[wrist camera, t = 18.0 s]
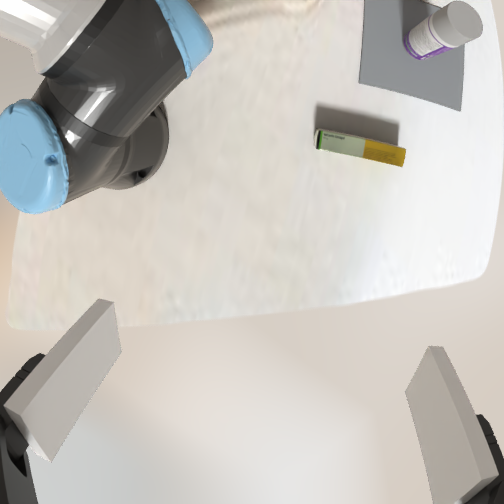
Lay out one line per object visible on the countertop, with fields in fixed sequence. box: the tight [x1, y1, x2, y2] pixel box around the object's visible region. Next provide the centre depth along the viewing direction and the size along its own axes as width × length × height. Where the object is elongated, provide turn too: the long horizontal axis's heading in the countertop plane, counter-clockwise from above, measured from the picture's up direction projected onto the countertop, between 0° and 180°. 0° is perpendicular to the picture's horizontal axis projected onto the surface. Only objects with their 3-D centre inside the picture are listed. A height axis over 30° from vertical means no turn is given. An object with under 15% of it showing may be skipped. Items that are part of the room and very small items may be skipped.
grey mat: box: [359, 0, 464, 111], centre depth 33 cm, size 16×16×1 cm
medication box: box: [314, 128, 406, 167], centre depth 39 cm, size 12×3×4 cm, turn 83°
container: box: [403, 1, 483, 61], centre depth 26 cm, size 5×5×15 cm
